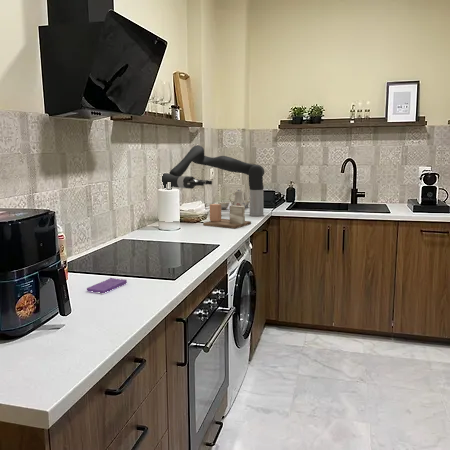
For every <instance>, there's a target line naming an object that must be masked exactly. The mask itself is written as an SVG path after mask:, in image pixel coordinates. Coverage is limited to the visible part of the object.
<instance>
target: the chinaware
mask: <svg viewBox="0 0 450 450" xmlns="http://www.w3.org/2000/svg"><path fill="white" fill-rule="evenodd" d="M232 195H233V196H234V199H233V200H232V199H231V196H232ZM228 200H229V201H221V202H219V201H218V202H217V204H221V211H227V209H228V207H230V206H232V205H234V206H245V209H246V208H249V206H250V200H248V197H247V190H244V191H243V190H242V189H240V187H238V188H237V189H236V190H235V191H234V192H231V193H230V194H229V195H228ZM230 204H231V205H230Z"/></svg>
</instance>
